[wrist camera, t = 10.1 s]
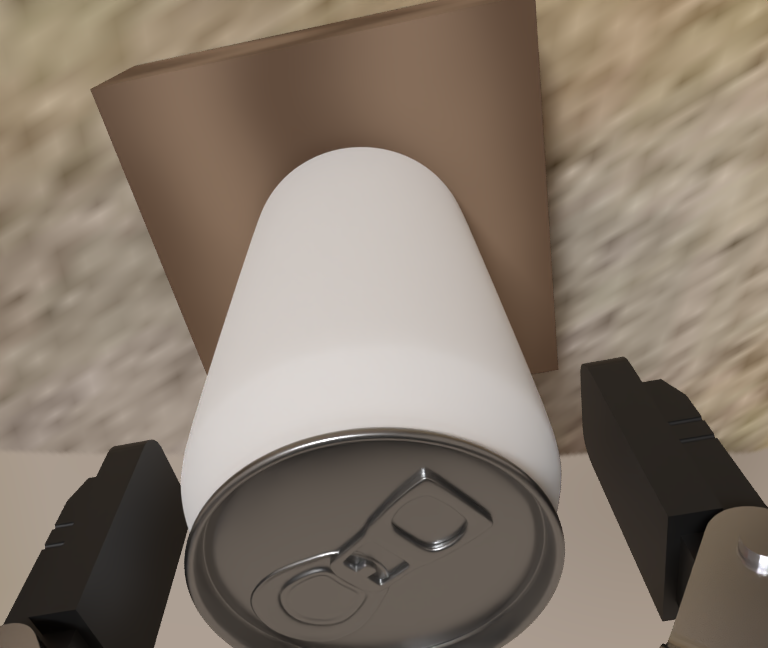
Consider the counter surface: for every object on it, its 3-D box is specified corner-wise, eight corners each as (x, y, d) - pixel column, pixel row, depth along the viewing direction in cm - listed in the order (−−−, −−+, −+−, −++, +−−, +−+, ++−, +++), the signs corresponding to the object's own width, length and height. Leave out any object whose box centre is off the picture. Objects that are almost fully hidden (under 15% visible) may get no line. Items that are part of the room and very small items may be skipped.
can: (213, 252, 20) (63, 595, 9) (355, 91, 17) (366, 310, 7) (366, 367, 22) (383, 739, 12) (508, 240, 20) (681, 562, 10)
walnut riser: (503, -14, 20) (534, -6, 16) (530, 313, 26) (558, 369, 22) (134, 66, 21) (90, 89, 17) (244, 366, 27) (229, 428, 23)
